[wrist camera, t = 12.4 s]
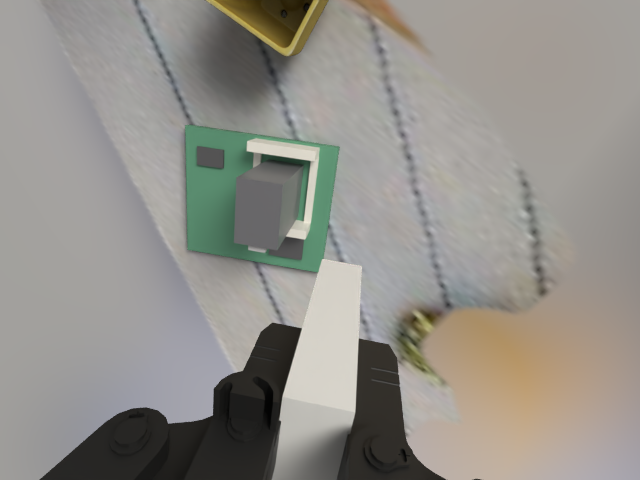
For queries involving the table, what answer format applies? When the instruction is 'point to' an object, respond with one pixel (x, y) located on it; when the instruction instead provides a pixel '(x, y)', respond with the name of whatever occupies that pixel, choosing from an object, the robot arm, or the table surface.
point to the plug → (267, 204)
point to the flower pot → (275, 20)
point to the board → (220, 193)
